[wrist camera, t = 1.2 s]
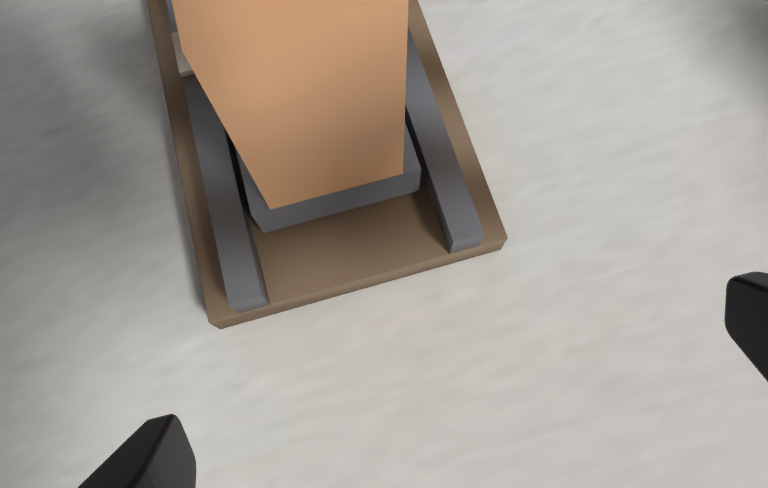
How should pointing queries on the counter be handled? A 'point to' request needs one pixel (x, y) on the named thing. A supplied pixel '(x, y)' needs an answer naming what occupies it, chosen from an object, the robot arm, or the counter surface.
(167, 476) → the robot arm
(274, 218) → the fader tab
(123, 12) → the counter surface
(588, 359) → the counter surface
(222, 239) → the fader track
